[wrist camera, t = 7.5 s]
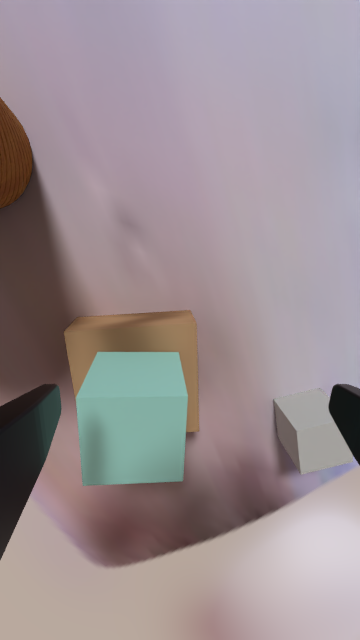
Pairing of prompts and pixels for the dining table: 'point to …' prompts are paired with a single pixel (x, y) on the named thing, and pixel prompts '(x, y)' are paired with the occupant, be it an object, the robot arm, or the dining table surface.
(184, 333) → the tan flat block
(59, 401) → the robot arm
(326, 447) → the grey cube
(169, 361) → the teal cube
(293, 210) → the dining table surface
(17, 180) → the disposable coffee cup
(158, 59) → the dining table surface
